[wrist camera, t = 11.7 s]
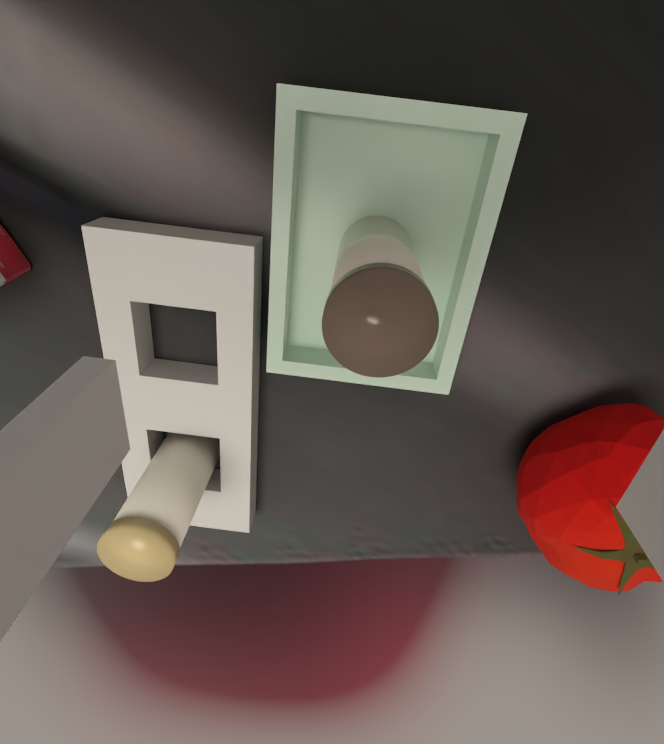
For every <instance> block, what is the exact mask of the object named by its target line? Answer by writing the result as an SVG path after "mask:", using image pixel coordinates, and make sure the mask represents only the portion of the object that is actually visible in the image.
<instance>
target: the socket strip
mask: <svg viewBox="0 0 664 744" xmlns="http://www.w3.org/2000/svg"><path fill="white" fill-rule="evenodd" d="M81 228H82V234H83V239H84V245H85V251H86V257H87V263H88V269H89V274H90V280H91V286H92V292H93V298H94V304H95V309H96V315H97V321H98V327H99V333H100V339H101V344H102V350H103V356H104V359H111V360H116V366H117V372H118V378H119V384H120V390H121V396H122V402H123V408H124V414H125V420H126V426H127V432H128V438H129V444H130V450H129V452H128V453H127V455H126V456H125V458H124V459H123V461H122V467H123V473H124V479H125V485H126V490H127V496H128V498H127V500H126V502H125V503H124V505H123V506H122V508H121V510H120V511H119V513H118V514H117V516H116V518H115V519H114V521H113V522H112V523H111V524H110V525H109V526H108V527H107V529H106V530H105V532H104V534H103V535H102V537H101V538H100V540H99V542H98V544H97V553H98V556H99V558H100V560H101V561H102V562H103V564H104V565H105V566H106V567H108V568H109V569H110V570H111V571H113V572H114V573H116V574H118V575H120V576H122V577H125V578H127V579H131V580H135V581H141V582H152V581H158V580H160V579H163V578H165V577H166V576H168V575H169V574H170V572H171V571H172V569H173V567H174V565H175V562H176V560H177V558H178V555H179V552H180V547H181V544H182V542H183V540H184V537H185V535H186V533H187V530H188V528H189V526H190V525H192V526H200V527H207V528H215V529H223V530H231V531H239V532H247V533H249V532H250V528H251V525H252V521H253V518H254V514H255V510H256V477H257V440H258V404H259V367H260V330H261V294H262V257H263V237H262V236H254V235H246V234H238V233H230V232H222V231H213V230H205V229H197V228H189V227H181V226H173V225H165V224H157V223H148V222H140V221H132V220H124V219H116V218H108V217H102V218H99V219H97V220H94V221H92V222H89V223H86V224H84V225H81ZM149 303H150V304H158V305H166V306H174V307H182V308H191V309H199V310H207V311H215V312H216V321H217V359H218V366H212V365H204V364H196V363H188V362H180V361H172V360H164V359H156V358H155V357H154V348H153V339H152V329H151V320H150V310H149ZM162 431H164V432H169V433H168V434H167V436H166V437H165V439H164V441H163V432H162ZM219 456H220V469H214V468H215V465H216V463H217V461H218V459H219Z"/></svg>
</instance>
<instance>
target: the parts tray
mask: <svg viewBox="0 0 664 744" xmlns="http://www.w3.org/2000/svg"><path fill="white" fill-rule="evenodd" d="M527 114H528V113H519V112H511V111H503V110H494V109H486V108H478V107H470V106H461V105H453V104H445V103H437V102H428V101H420V100H412V99H404V98H395V97H387V96H379V95H371V94H362V93H354V92H346V91H338V90H329V89H321V88H313V87H305V86H296V85H288V84H280V83H277V90H276V117H275V145H274V173H273V200H272V228H271V255H270V283H269V311H268V338H267V366H266V372H270V373H278V374H286V375H294V376H302V377H310V378H318V379H326V380H334V381H342V382H350V383H358V384H366V385H374V386H382V387H390V388H398V389H406V390H414V391H422V392H430V393H438V394H446V395H449V391H450V388H451V384H452V381H453V377H454V374H455V370H456V366H457V363H458V359H459V356H460V352H461V349H462V345H463V341H464V338H465V334H466V331H467V327H468V324H469V320H470V317H471V313H472V309H473V306H474V302H475V299H476V295H477V292H478V288H479V284H480V281H481V277H482V274H483V270H484V267H485V263H486V260H487V256H488V252H489V249H490V245H491V242H492V238H493V235H494V231H495V228H496V224H497V220H498V217H499V213H500V210H501V206H502V203H503V199H504V195H505V192H506V188H507V185H508V181H509V178H510V174H511V171H512V167H513V163H514V160H515V156H516V153H517V149H518V146H519V142H520V138H521V135H522V131H523V128H524V124H525V121H526V117H527ZM368 216H385V217H388V218H391V219H393V220H395V221H396V222H398V223H399V224H400V225H401V226H402V227H403V228H404V229H405V231H406V232H407V234H408V236H409V238H410V241H411V244H412V247H413V250H414V252H415V255H416V258H417V261H418V264H419V267H420V270H421V272H422V275H423V278H424V281H425V284H426V285H427V286H428V288H429V290H430V292H431V294H432V296H433V299H434V301H435V304H436V307H437V311H438V316H439V329H438V335H437V338H436V341H435V343H434V345H433V347H432V349H431V351H430V352H429V354H428V355H427V356H426V357H425V358H424V359H423V360H422V361H421V362H420V363H419V364H418V365H416V366H415V367H413V368H412V369H410V370H408V371H406V372H404V373H401V374H399V375H395V376H390V377H380V378H377V377H368V376H363V375H360V374H357V373H354V372H352V371H350V370H348V369H347V368H345V367H344V366H342V365H341V364H340V363H339V362H338V361H337V360H336V359H335V358H334V357H333V356H332V355H331V353H330V352H329V350H328V348H327V346H326V344H325V341H324V338H323V334H322V317H323V311H324V307H325V303H326V300H327V297H328V295H329V293H330V290H331V285H332V280H333V275H334V271H335V266H336V261H337V256H338V251H339V246H340V242H341V239H342V237H343V235H344V233H345V232H346V230H347V229H348V228H349V227H350V226H351V225H352V224H353V223H355V222H356V221H358V220H360V219H362V218H365V217H368Z"/></svg>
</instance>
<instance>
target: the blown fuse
mask: <svg viewBox="0 0 664 744" xmlns="http://www.w3.org/2000/svg"><path fill="white" fill-rule="evenodd" d="M438 329H439V316H438V311H437V307H436V304H435V301H434V299H433V296H432V294H431V292H430V290H429V288H428V286H427V285H426V284H425V281H424V278H423V275H422V272H421V270H420V267H419V264H418V261H417V258H416V255H415V252H414V250H413V247H412V244H411V241H410V238H409V236H408V234H407V232H406V231H405V229H404V228H403V227H402V226H401V225H400V224H399V223H398V222H396V221H395V220H393V219H391V218H388V217H385V216H368V217H365V218H362V219H360V220H358V221H356V222H355V223H353V224H352V225H351V226H350V227H349V228H348V229H347V230H346V232H345V233H344V235H343V237H342V239H341V242H340V246H339V251H338V256H337V261H336V266H335V271H334V275H333V280H332V285H331V290H330V293H329V295H328V297H327V300H326V303H325V307H324V311H323V317H322V334H323V338H324V341H325V344H326V346H327V348H328V350H329V352H330V353H331V355H332V356H333V357H334V358H335V359H336V360H337V361H338V362H339V363H340V364H341V365H342V366H344V367H345V368H347V369H348V370H350V371H352V372H354V373H357V374H360V375H363V376H368V377H377V378H380V377H390V376H395V375H399V374H401V373H404V372H406V371H408V370H410V369H412V368H413V367H415V366H416V365H418V364H419V363H420V362H421V361H422V360H423V359H424V358H425V357H426V356H427V355H428V354H429V352H430V351H431V349H432V347H433V345H434V343H435V341H436V338H437V335H438Z"/></svg>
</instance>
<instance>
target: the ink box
mask: <svg viewBox="0 0 664 744" xmlns="http://www.w3.org/2000/svg"><path fill="white" fill-rule="evenodd" d="M30 269H31V266H30V264H29V262H28V260H27V259H26V258H25V256H24V255H23V254H22V252H21V251H20V250H19V248H18V247H17V245H16V244H15V243H14V241H13V240H12V238H11V237H10V236H9V235H8V233H7V232H6V231H5V229H4V228H3V227H2V226H1V225H0V286H2V285H4V284H6V283H8V282H10V281H12V280H14V279H16V278H17V277H19V276H21V275H22V274H24V273H26V272H28V271H30Z"/></svg>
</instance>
